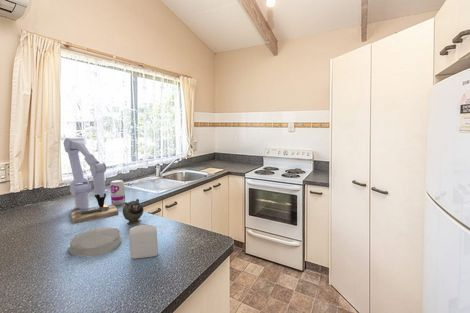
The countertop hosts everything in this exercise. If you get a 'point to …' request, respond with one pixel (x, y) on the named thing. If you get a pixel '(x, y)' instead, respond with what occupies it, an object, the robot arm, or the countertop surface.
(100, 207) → the latch bar
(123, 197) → the supplement can
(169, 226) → the countertop surface
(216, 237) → the countertop surface
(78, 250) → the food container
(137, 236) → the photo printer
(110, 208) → the latch board
